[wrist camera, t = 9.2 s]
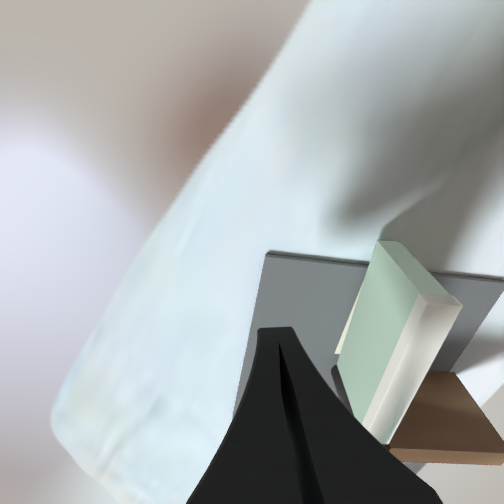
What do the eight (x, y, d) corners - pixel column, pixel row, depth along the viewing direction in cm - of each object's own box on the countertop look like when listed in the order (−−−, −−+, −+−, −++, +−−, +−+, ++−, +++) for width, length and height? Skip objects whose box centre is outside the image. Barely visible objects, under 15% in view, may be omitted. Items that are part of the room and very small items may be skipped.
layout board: (408, 425, 25) (410, 429, 25) (232, 415, 24) (232, 419, 23) (504, 280, 18) (508, 284, 18) (265, 253, 17) (266, 257, 16)
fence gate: (356, 364, 20) (388, 444, 16) (335, 364, 20) (361, 443, 16) (401, 241, 16) (463, 305, 12) (374, 239, 16) (427, 303, 12)
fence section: (445, 384, 22) (504, 474, 17) (328, 376, 21) (355, 468, 16) (454, 371, 22) (519, 460, 17) (333, 362, 21) (364, 454, 16)
